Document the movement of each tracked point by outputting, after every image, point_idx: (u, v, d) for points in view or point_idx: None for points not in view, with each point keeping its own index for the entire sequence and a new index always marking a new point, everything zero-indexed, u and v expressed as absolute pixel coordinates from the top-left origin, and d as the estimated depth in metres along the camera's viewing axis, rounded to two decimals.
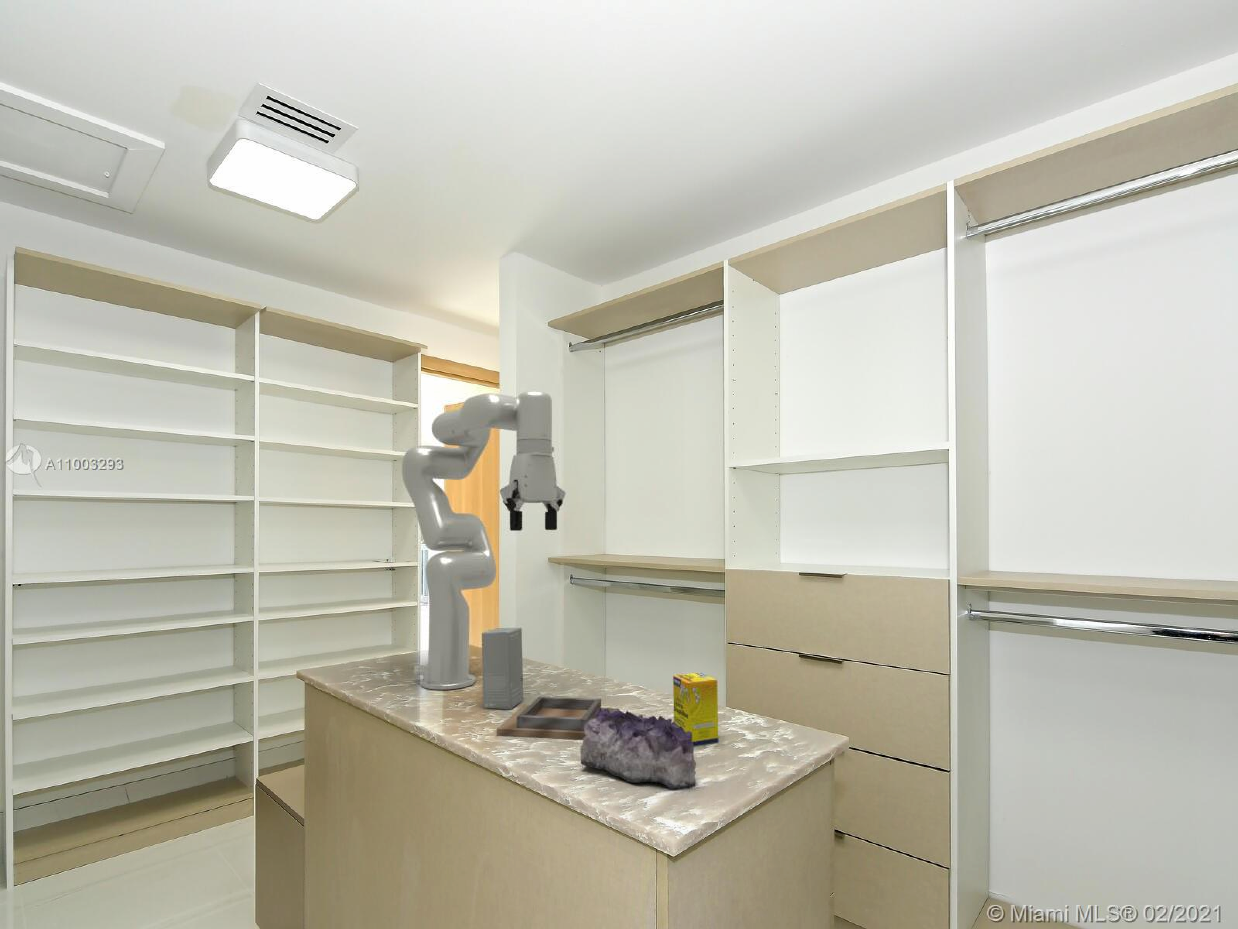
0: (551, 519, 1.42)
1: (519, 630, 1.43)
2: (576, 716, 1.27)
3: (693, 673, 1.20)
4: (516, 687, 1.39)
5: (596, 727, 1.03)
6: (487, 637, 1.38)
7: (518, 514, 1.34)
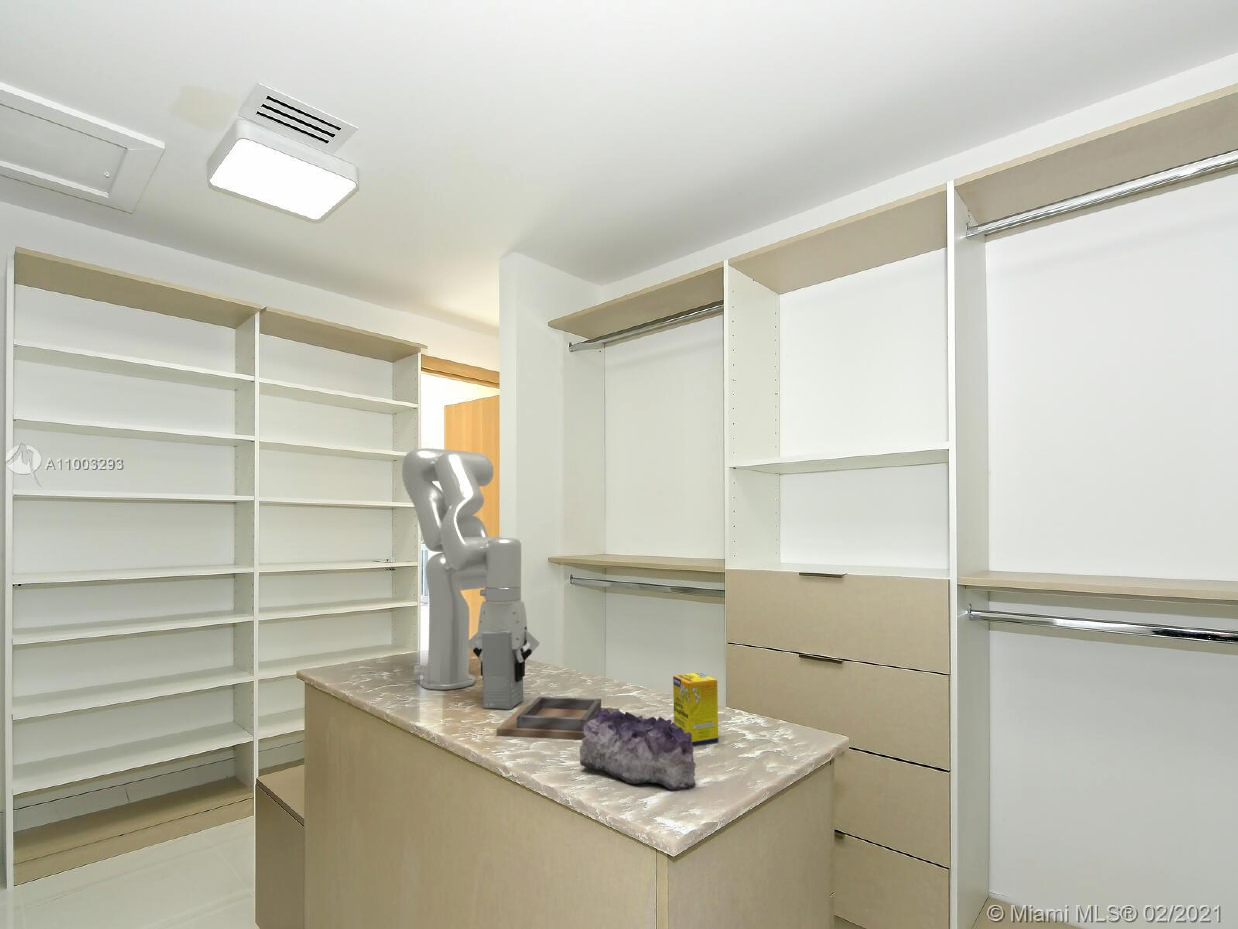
0: None
1: None
2: (576, 716, 1.27)
3: (693, 673, 1.20)
4: (516, 687, 1.39)
5: (595, 727, 1.02)
6: (487, 637, 1.38)
7: None
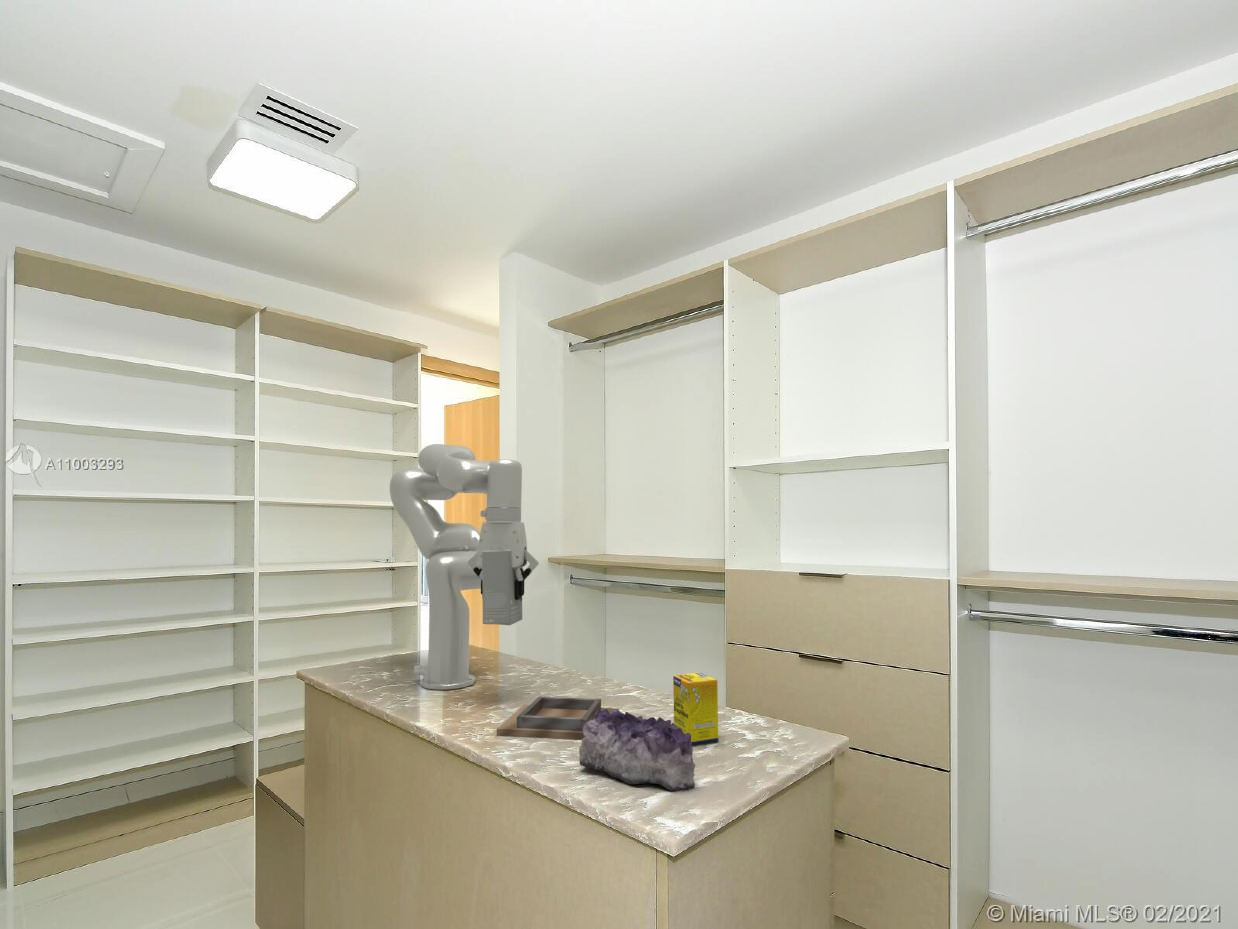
0: None
1: None
2: (576, 716, 1.27)
3: (693, 673, 1.20)
4: (515, 605, 1.41)
5: (595, 728, 1.02)
6: (488, 555, 1.40)
7: None
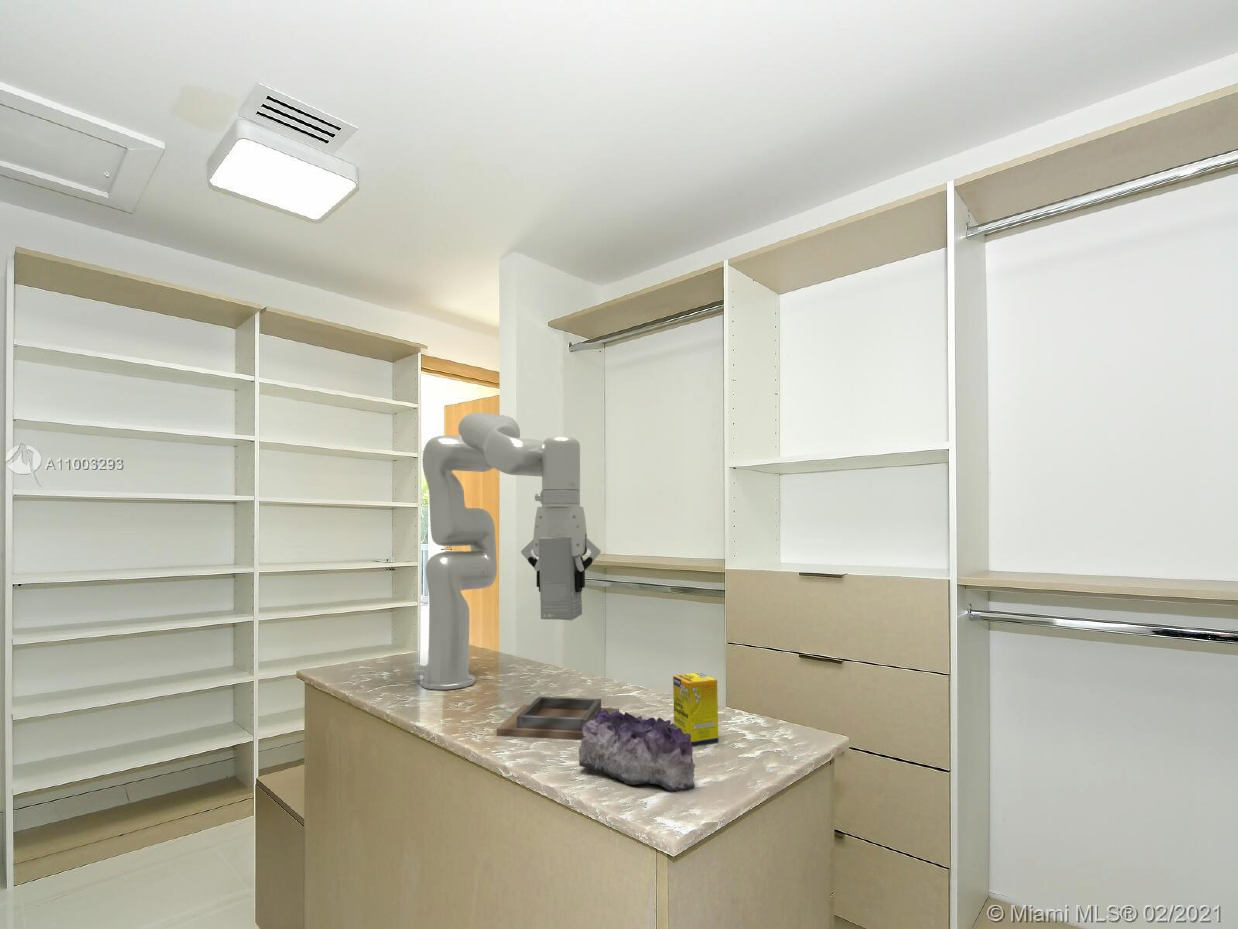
0: None
1: None
2: (576, 716, 1.27)
3: (693, 673, 1.20)
4: (576, 598, 1.26)
5: (594, 728, 1.02)
6: (545, 542, 1.25)
7: None
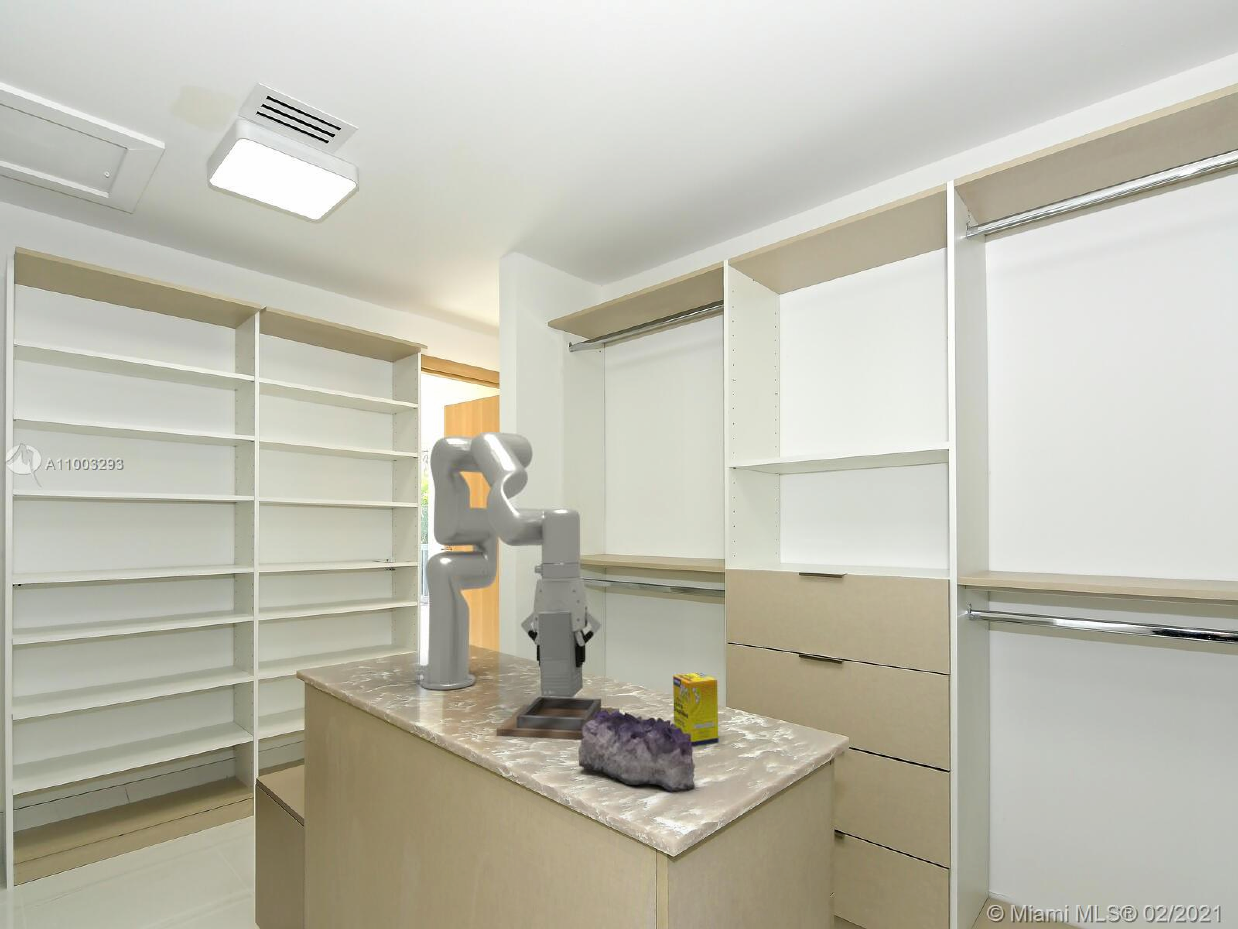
0: None
1: None
2: (576, 716, 1.27)
3: (693, 673, 1.20)
4: (577, 673, 1.25)
5: (594, 728, 1.02)
6: (545, 617, 1.24)
7: None
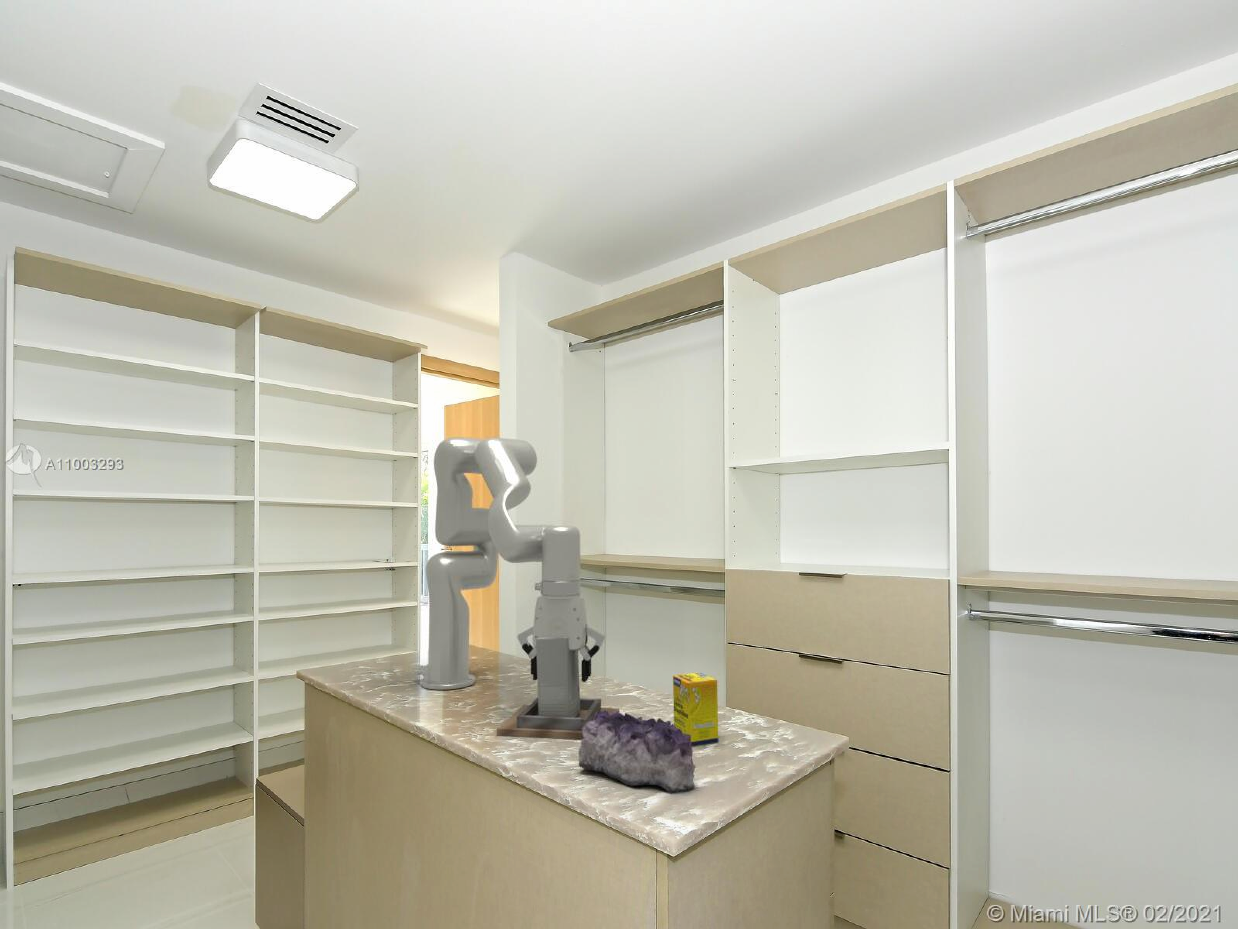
0: None
1: None
2: None
3: (693, 673, 1.20)
4: (574, 699, 1.25)
5: (594, 729, 1.02)
6: (543, 643, 1.24)
7: None
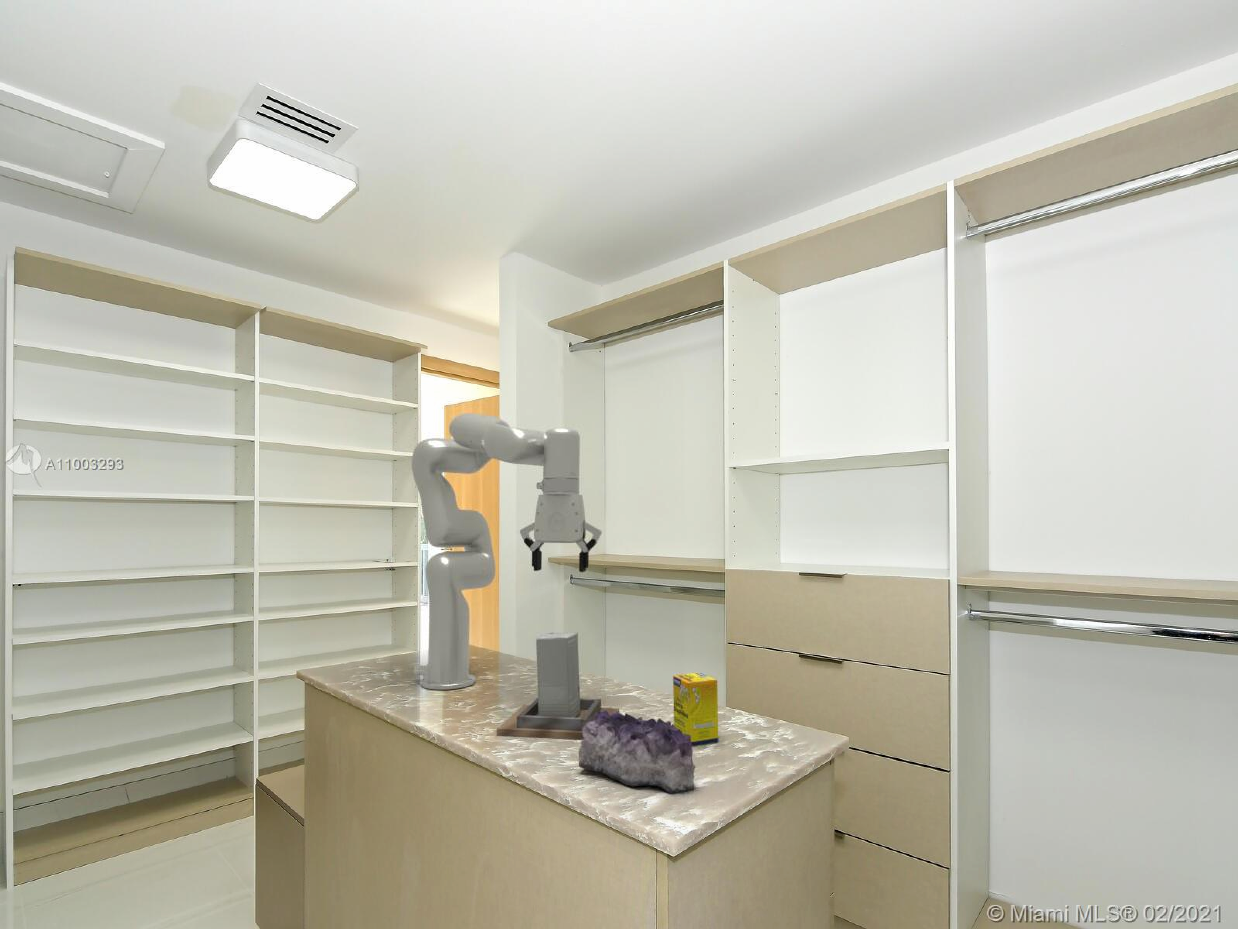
0: (540, 559, 1.37)
1: (576, 635, 1.29)
2: None
3: (693, 673, 1.20)
4: (574, 699, 1.25)
5: (594, 729, 1.02)
6: (543, 643, 1.24)
7: None
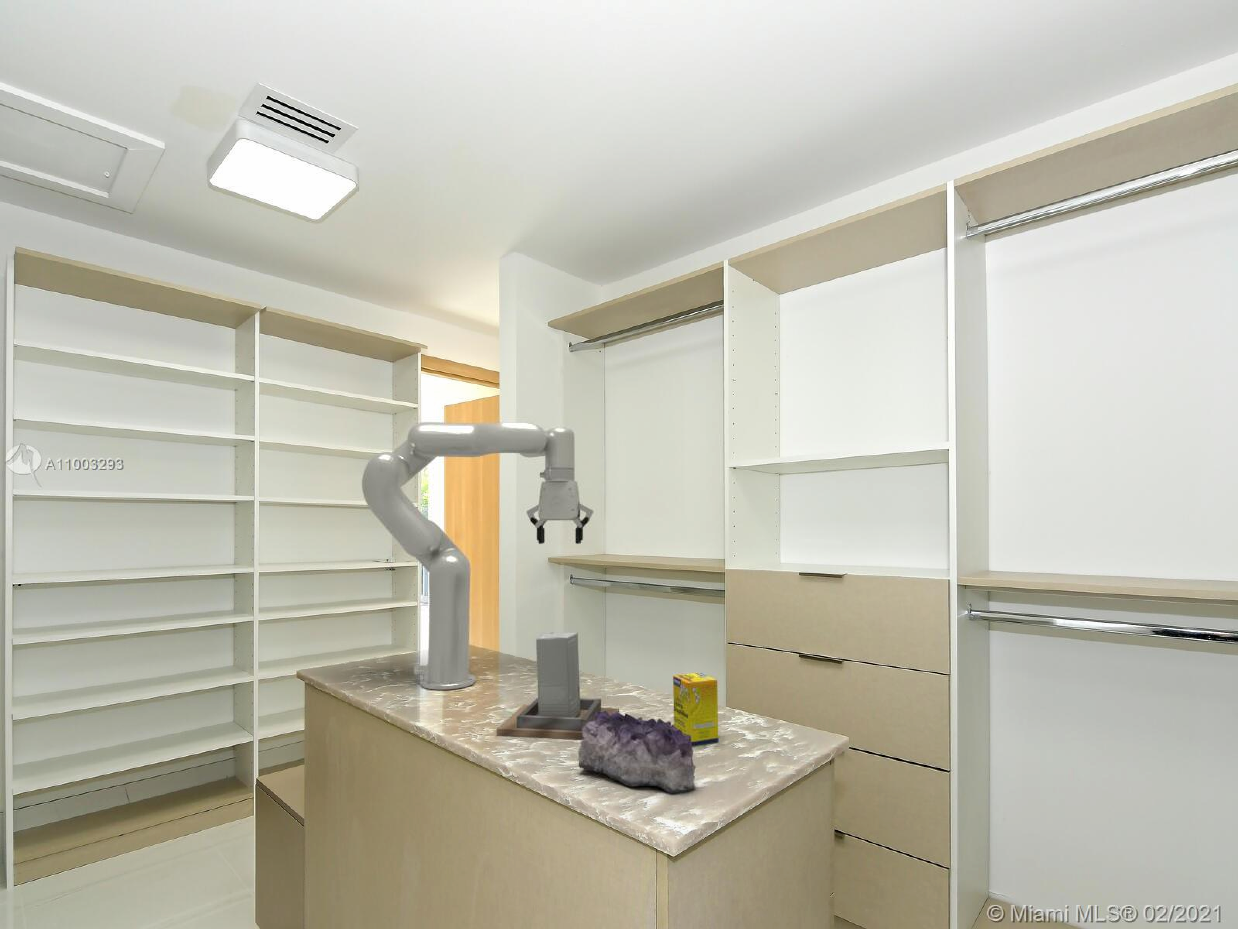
0: (543, 534, 1.68)
1: (576, 635, 1.29)
2: None
3: (693, 673, 1.20)
4: (574, 699, 1.25)
5: (594, 729, 1.01)
6: (543, 643, 1.24)
7: None
